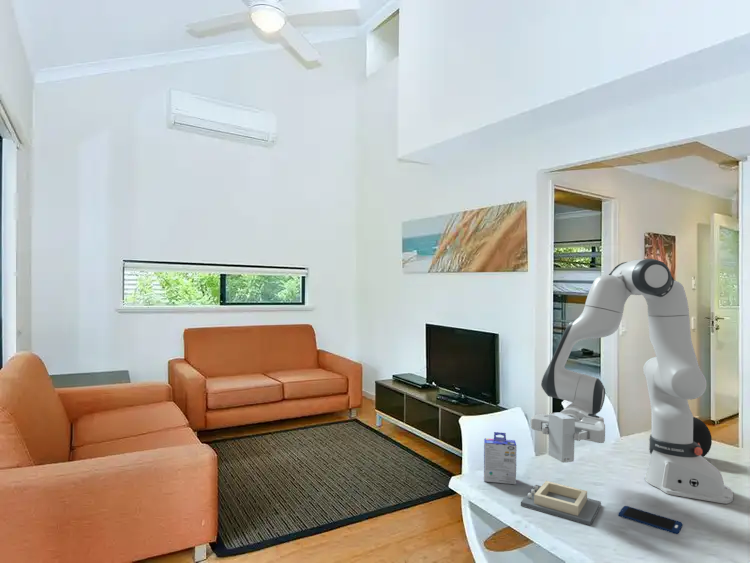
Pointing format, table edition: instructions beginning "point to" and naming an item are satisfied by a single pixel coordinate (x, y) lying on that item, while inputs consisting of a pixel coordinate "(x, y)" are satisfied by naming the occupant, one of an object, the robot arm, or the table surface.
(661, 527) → the cell phone
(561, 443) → the skincare box
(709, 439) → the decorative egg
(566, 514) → the socket dock
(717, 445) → the table surface
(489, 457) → the ink cartridge box
